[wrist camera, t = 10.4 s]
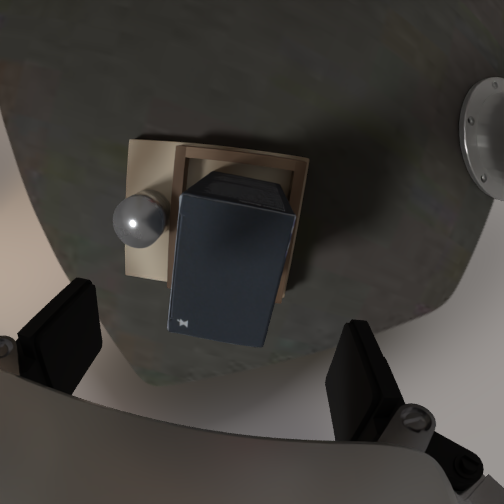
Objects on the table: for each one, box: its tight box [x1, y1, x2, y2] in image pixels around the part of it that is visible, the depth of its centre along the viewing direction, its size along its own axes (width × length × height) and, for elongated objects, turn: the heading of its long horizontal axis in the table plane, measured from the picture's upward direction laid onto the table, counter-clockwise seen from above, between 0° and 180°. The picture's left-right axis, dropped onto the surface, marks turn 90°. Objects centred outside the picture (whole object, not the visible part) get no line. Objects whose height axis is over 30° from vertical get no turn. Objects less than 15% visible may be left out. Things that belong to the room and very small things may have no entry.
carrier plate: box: [113, 139, 309, 303], centre depth 25 cm, size 14×12×4 cm
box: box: [167, 171, 296, 348], centre depth 21 cm, size 8×6×11 cm
